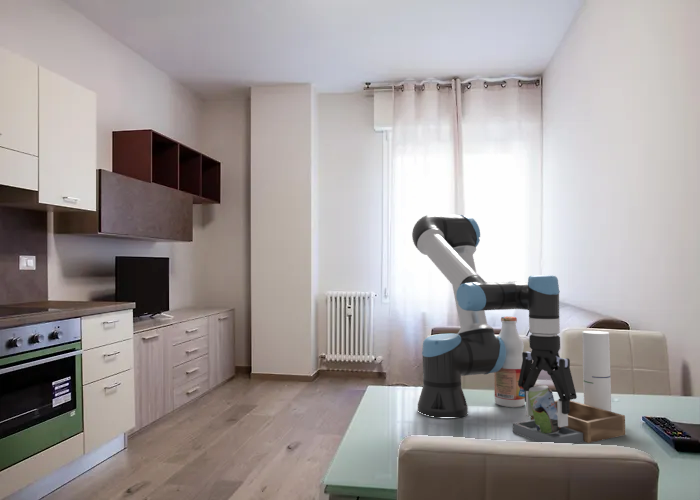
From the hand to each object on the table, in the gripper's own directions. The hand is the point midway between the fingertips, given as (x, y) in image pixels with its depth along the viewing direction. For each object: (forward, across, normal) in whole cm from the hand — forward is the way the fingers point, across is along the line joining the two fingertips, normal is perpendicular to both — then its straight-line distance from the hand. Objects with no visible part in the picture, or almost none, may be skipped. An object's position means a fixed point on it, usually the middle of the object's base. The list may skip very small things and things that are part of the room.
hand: (546, 420), depth 130 cm
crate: (+4, +2, -12) cm, 13 cm away
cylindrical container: (+4, +5, -26) cm, 26 cm away
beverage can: (+3, 0, 0) cm, 3 cm away
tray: (+4, 0, 0) cm, 4 cm away
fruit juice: (+4, +29, -14) cm, 33 cm away
